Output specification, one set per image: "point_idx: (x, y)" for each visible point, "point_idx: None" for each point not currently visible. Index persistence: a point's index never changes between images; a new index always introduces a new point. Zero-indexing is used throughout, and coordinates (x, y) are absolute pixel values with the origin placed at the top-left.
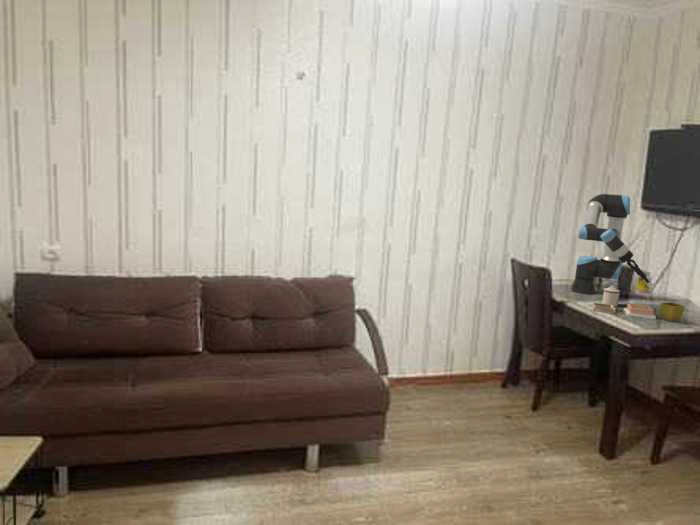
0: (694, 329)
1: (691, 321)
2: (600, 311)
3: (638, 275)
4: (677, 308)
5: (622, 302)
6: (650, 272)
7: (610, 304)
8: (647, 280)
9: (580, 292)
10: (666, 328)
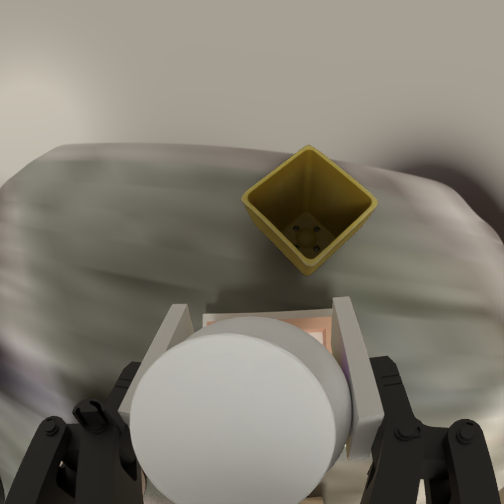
0: (415, 176)
1: (270, 159)
2: None
3: (131, 468)
4: (355, 188)
5: (43, 391)
6: (266, 339)
7: (143, 487)
8: (397, 388)
9: (2, 498)
10: (480, 280)
